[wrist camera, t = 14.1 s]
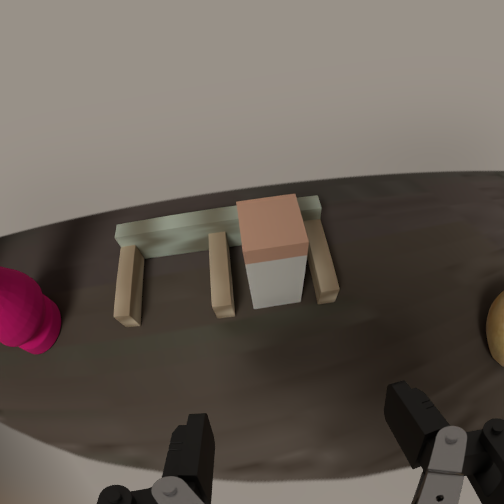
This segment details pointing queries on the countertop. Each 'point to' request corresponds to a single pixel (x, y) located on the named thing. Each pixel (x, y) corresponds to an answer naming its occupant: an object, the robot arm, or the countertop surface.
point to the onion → (496, 329)
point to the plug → (273, 249)
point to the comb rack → (217, 242)
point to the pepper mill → (26, 313)
